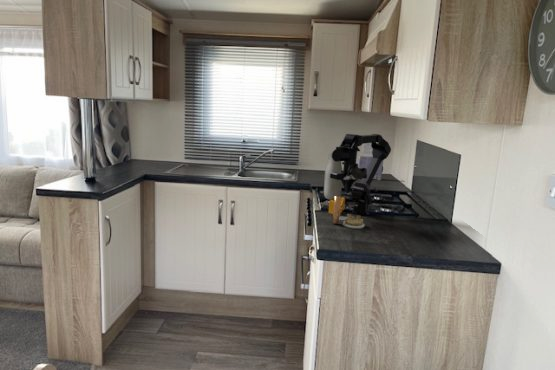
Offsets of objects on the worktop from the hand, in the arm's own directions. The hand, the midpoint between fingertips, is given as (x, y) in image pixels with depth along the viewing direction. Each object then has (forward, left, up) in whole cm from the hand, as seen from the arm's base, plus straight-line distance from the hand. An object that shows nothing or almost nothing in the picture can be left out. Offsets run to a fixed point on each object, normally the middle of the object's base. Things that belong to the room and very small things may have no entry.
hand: (347, 192), depth 192 cm
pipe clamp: (-3, -9, -12) cm, 16 cm away
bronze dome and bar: (+8, +11, -11) cm, 18 cm away
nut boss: (+6, +13, -12) cm, 19 cm away
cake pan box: (-92, -79, -12) cm, 122 cm away
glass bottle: (-17, -32, -12) cm, 38 cm away
